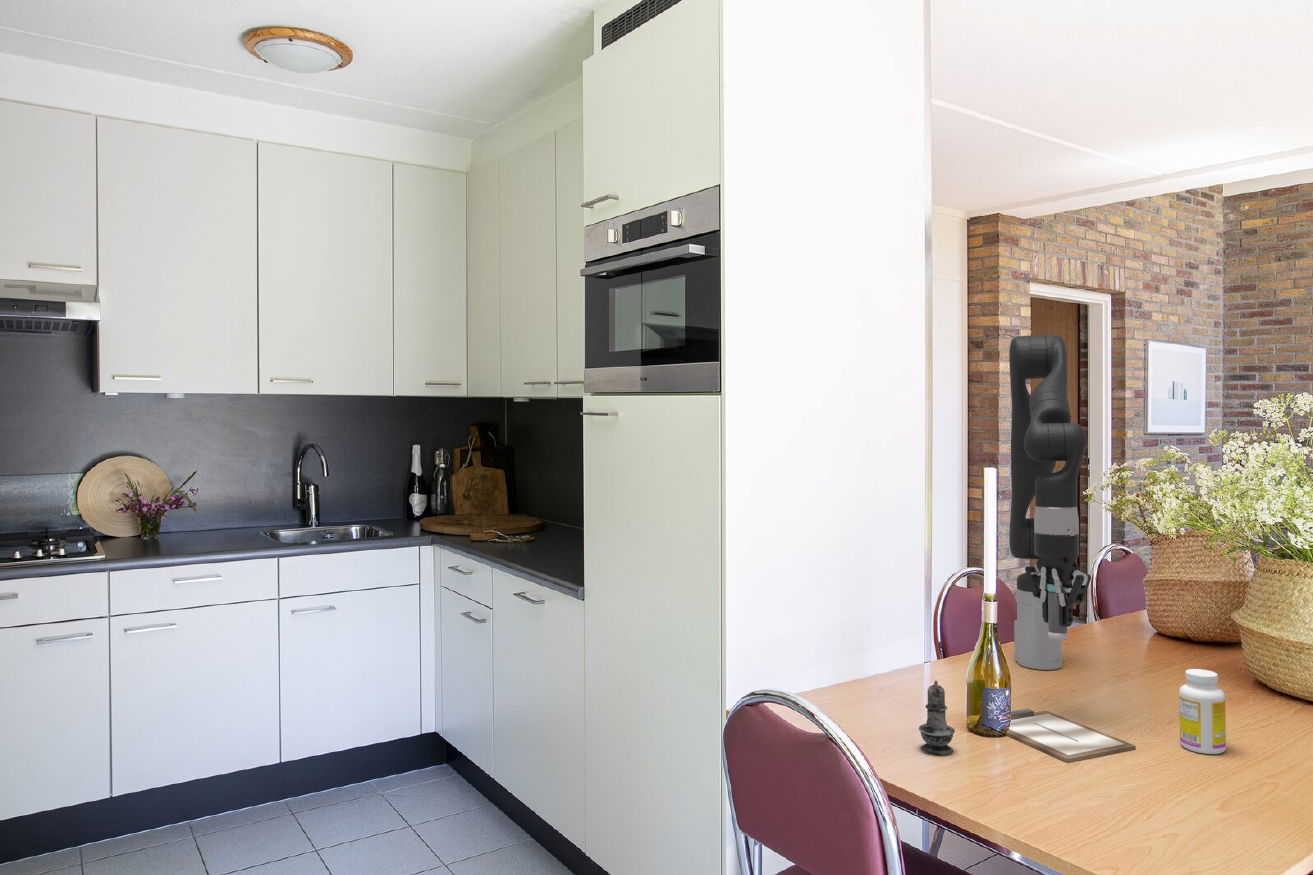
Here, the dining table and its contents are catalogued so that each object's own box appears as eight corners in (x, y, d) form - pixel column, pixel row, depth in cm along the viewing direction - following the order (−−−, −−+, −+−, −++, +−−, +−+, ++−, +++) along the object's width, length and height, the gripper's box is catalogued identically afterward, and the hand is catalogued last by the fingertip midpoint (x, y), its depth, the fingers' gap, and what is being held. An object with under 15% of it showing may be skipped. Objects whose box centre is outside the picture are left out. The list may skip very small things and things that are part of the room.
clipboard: (981, 724, 164) (981, 715, 164) (1045, 713, 169) (1045, 705, 169) (1066, 762, 145) (1066, 753, 145) (1135, 749, 150) (1135, 739, 150)
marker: (1043, 637, 165) (1042, 583, 165) (1057, 635, 166) (1056, 582, 167) (1058, 641, 162) (1057, 586, 162) (1072, 639, 163) (1071, 584, 163)
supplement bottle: (1222, 744, 152) (1222, 669, 151) (1229, 758, 146) (1228, 680, 145) (1177, 739, 154) (1176, 665, 154) (1181, 752, 148) (1181, 675, 148)
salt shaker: (955, 745, 153) (954, 676, 153) (954, 758, 148) (953, 686, 148) (919, 742, 155) (918, 674, 155) (918, 754, 150) (917, 683, 150)
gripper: (1012, 528, 169) (1013, 619, 169) (1071, 535, 156) (1072, 633, 156) (1042, 526, 172) (1043, 616, 172) (1103, 533, 159) (1104, 630, 159)
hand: (1057, 623), depth 164 cm, fingers closed on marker, 3 cm apart
